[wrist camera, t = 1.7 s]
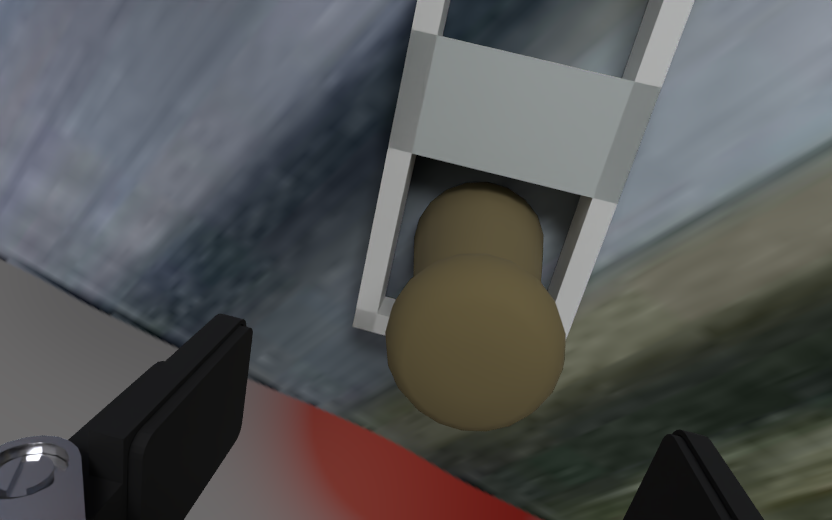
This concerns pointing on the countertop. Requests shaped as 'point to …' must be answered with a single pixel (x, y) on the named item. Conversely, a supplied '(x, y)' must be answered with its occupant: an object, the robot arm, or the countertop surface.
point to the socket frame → (518, 136)
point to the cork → (476, 313)
